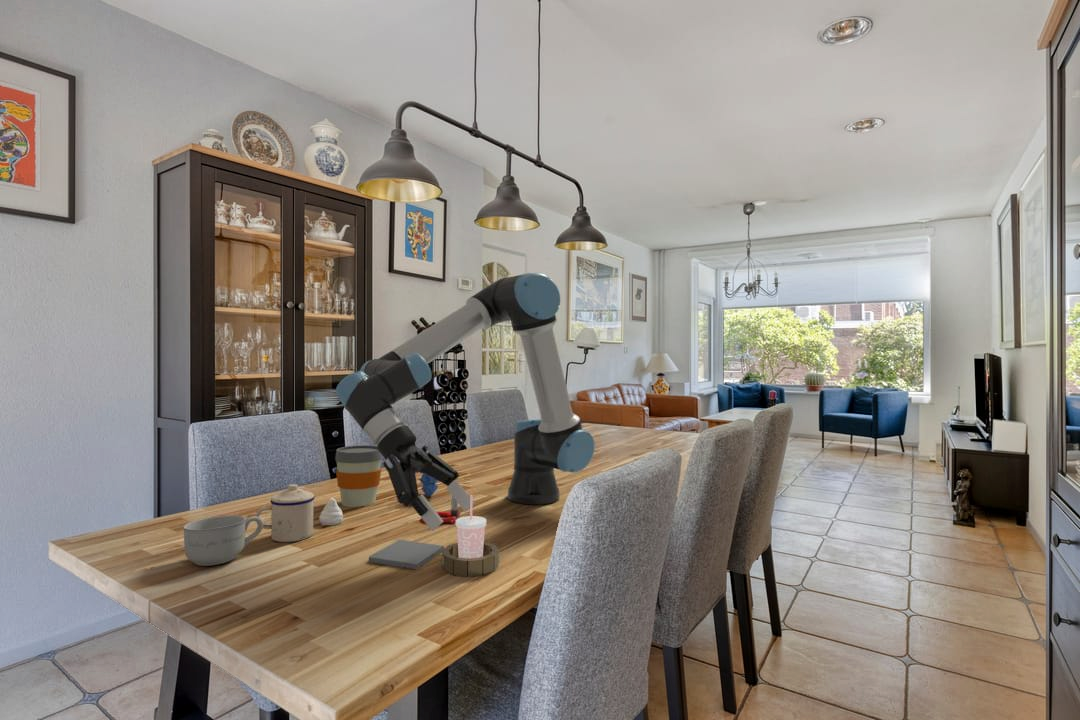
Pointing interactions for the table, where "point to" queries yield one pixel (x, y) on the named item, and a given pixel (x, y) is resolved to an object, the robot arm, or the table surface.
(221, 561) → the teacup
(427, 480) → the grapes
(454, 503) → the tow hook
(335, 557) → the table surface
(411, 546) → the coaster
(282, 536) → the teacup with lid
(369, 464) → the reusable coffee cup
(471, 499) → the beverage cup
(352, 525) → the table surface
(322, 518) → the white meringue swirl
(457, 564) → the stone block ring
